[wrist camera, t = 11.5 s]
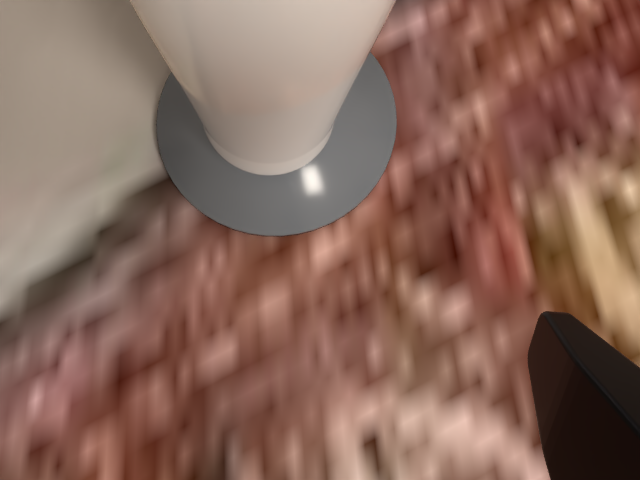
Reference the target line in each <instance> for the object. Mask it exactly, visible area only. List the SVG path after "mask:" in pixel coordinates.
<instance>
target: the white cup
mask: <svg viewBox="0 0 640 480" xmlns="http://www.w3.org/2000/svg"><path fill="white" fill-rule="evenodd" d="M129 1H130V3H131V4H132V6H133V8H134V10H135V12H136V14H137V15H138V17H139V19H140V21H141V22H142V24H143V26H144V28H145V29H146V31H147V33H148V34H149V36H150V38H151V39H152V41H153V42H154V44H155V46H156V47H157V49H158V51H159V52H160V54H161V56H162V57H163V59H164V60H165V62H166V64H167V65H168V67H169V69H170V70H171V72H172V73H173V75H174V77H175V78H176V80H177V82H178V83H179V85H180V87H181V88H182V90H183V92H184V93H185V95H186V97H187V98H188V100H189V102H190V103H191V105H192V107H193V108H194V110H195V112H196V113H197V115H198V117H199V119H200V120H201V123H202V126H203V128H204V131H205V133H206V136H207V138H208V140H209V141H210V143H211V145H212V146H213V147H214V149H215V150H216V151H217V152H218V154H219V155H220V156H221V157H223V158H224V159H225V160H226V161H227V162H229V163H230V164H232V165H233V166H235V167H237V168H239V169H241V170H243V171H246V172H249V173H252V174H257V175H268V176H272V175H281V174H286V173H289V172H292V171H295V170H297V169H299V168H301V167H303V166H305V165H306V164H308V163H309V162H311V161H312V160H313V159H314V158H315V157H316V156H317V155H318V154H319V153H320V152H321V151H322V150H323V148H324V147H325V145H326V143H327V142H328V140H329V138H330V136H331V133H332V130H333V127H334V124H335V120H336V118H337V116H338V113H339V111H340V109H341V107H342V105H343V103H344V101H345V99H346V97H347V96H348V94H349V92H350V90H351V88H352V86H353V84H354V82H355V80H356V78H357V76H358V74H359V72H360V70H361V68H362V66H363V65H364V63H365V61H366V59H367V57H368V55H369V53H370V51H371V49H372V47H373V46H374V44H375V42H376V40H377V38H378V36H379V34H380V32H381V30H382V28H383V26H384V24H385V22H386V20H387V18H388V16H389V14H390V12H391V10H392V8H393V6H394V4H395V1H396V0H129Z"/></svg>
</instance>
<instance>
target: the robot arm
mask: <svg viewBox="0 0 640 480" xmlns="http://www.w3.org/2000/svg"><path fill="white" fill-rule="evenodd" d="M528 368H529V374H530V380H531V386H532V392H533V398H534V404H535V410H536V416H537V422H538V428H539V434H540V439H541V444H542V450H543V454H544V458H545V461H546V465H547V469H548V472H549V476H550V479H551V480H640V368H639V367H638V366H637V365H635V364H634V363H633V362H632V361H630V360H629V359H628V358H626V357H625V356H624V355H623V354H621V353H620V352H619V351H617V350H616V349H615V348H614V347H612V346H611V345H610V344H608V343H607V342H606V341H605V340H603V339H602V338H601V337H599V336H598V335H597V334H596V333H594V332H593V331H592V330H590V329H589V328H588V327H587V326H585V325H584V324H583V323H581V322H580V321H579V320H578V319H576V318H575V317H574V316H572V315H571V314H569V313H565V312H550V311H545V312H543V313H541V315H540V316H539V318H538V321H537V324H536V328H535V331H534V334H533V337H532V341H531V344H530V347H529V351H528Z"/></svg>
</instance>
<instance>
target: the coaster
mask: <svg viewBox="0 0 640 480" xmlns="http://www.w3.org/2000/svg"><path fill="white" fill-rule="evenodd" d="M156 126H157V140H158V145H159V150H160V154H161V157H162V160H163V163H164V165H165V168H166V170H167V172H168V174H169V176H170V177H171V179H172V181H173V183H174V184H175V185H176V187H177V188H178V189H179V191H180V192H181V193H182V195H183V196H184V197H185V198H186V199H187V200H188V201H189V202H190V203H191V204H192V205H193V206H194V207H195V208H196V209H198V210H199V211H200V212H201V213H203V214H204V215H205V216H207V217H208V218H210V219H212V220H214V221H215V222H217V223H219V224H221V225H223V226H226V227H228V228H230V229H233V230H236V231H240V232H243V233H247V234H252V235H259V236H277V237H282V236H291V235H298V234H302V233H306V232H310V231H314V230H317V229H319V228H322V227H324V226H327V225H329V224H331V223H333V222H335V221H336V220H338V219H340V218H342V217H344V216H345V215H346V214H348V213H349V212H350V211H352V210H353V209H354V208H356V207H357V206H358V205H359V204H360V203H361V202H362V201H363V200H364V199H365V198H366V197H367V196H368V195H369V194H370V192H371V191H372V190H373V189H374V187H375V186H376V185H377V183H378V181H379V180H380V178H381V176H382V175H383V173H384V171H385V169H386V167H387V164H388V162H389V159H390V157H391V153H392V149H393V146H394V142H395V135H396V126H397V125H396V107H395V101H394V96H393V93H392V90H391V86H390V83H389V81H388V79H387V77H386V75H385V73H384V71H383V69H382V68H381V66H380V64H379V63H378V61H377V60H376V58H375V57H374V56H373V55H372V54H371V52H370V53H369V55H368V57H367V59H366V61H365V63H364V65H363V66H362V68H361V70H360V72H359V74H358V76H357V78H356V80H355V82H354V84H353V86H352V88H351V90H350V92H349V94H348V96H347V97H346V99H345V101H344V103H343V105H342V107H341V109H340V111H339V113H338V116H337V118H336V120H335V124H334V127H333V130H332V133H331V136H330V138H329V140H328V142H327V143H326V145H325V147H324V148H323V150H322V151H321V152H320V153H319V154H318V155H317V156H316V157H315V158H314V159H313V160H312V161H311V162H309V163H308V164H306V165H305V166H303V167H301V168H299V169H297V170H295V171H292V172H289V173H286V174H281V175H272V176H268V175H257V174H252V173H249V172H246V171H243V170H241V169H239V168H237V167H235V166H233V165H232V164H230V163H229V162H227V161H226V160H225V159H224V158H223V157H221V156H220V155H219V154H218V152H217V151H216V150H215V149H214V147H213V146H212V145H211V143H210V141H209V140H208V138H207V136H206V133H205V131H204V128H203V126H202V123H201V120H200V119H199V117H198V115H197V113H196V112H195V110H194V108H193V107H192V105H191V103H190V102H189V100H188V98H187V97H186V95H185V93H184V92H183V90H182V88H181V87H180V85H179V83H178V82H177V80H176V78H175V77H174V75H173V73H172V72H171V73H170V75H169V77H168V79H167V81H166V83H165V86H164V88H163V91H162V94H161V97H160V101H159V106H158V111H157V124H156Z"/></svg>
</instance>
